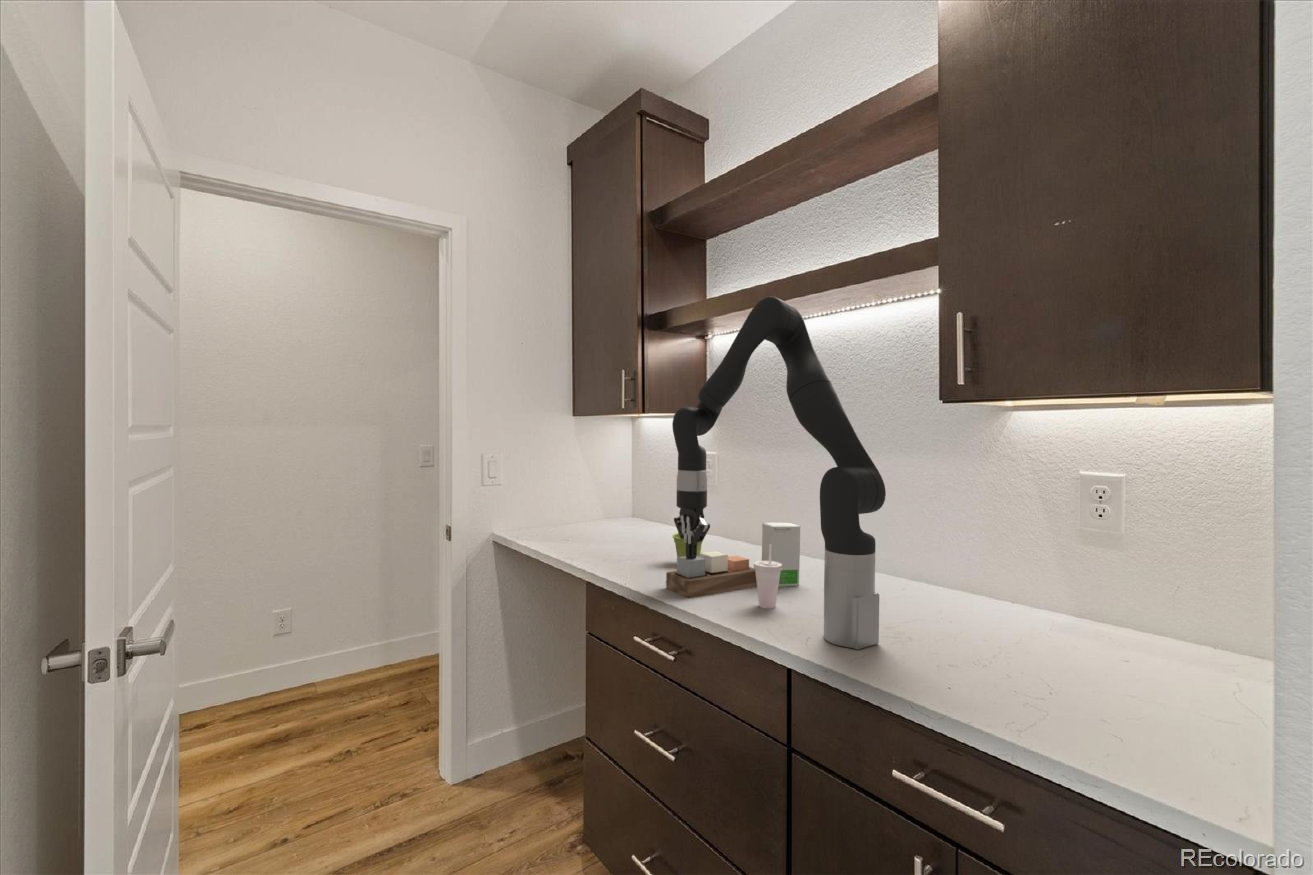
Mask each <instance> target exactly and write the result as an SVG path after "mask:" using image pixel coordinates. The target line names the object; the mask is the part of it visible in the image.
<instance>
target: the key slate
mask: <svg viewBox="0 0 1313 875" xmlns="http://www.w3.org/2000/svg"><path fill="white" fill-rule="evenodd" d="M676 571H677V574H680V575H682V576H685V577H687V578H691V577H697V576H704V575H705V559H703V558H700V557H697V556H696V558H695V559H689V558H686V556H684V557H677V556H676Z"/></svg>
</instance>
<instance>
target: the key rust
mask: <svg viewBox="0 0 1313 875" xmlns="http://www.w3.org/2000/svg"><path fill="white" fill-rule="evenodd" d="M749 567H750V559H749V558H746V557H744V556H739V555H733V556H728V570H729V571H732V572H736V571H743V570H749Z"/></svg>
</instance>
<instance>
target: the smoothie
mask: <svg viewBox="0 0 1313 875" xmlns="http://www.w3.org/2000/svg"><path fill="white" fill-rule="evenodd" d="M771 551H772V545H769V561H762V560H758V561H755V562H753V568H755V572H756V581H757V586H756V589H757V590H756V591H757V596H758V597H757V598H758V606H759V607H760V608H763V609H766V610H767V609H768V610H769V609H775V608H776V606H777V600H778V592H779V587H778V586H779V579H780V571H781V570H782V564H781V563H779V562H775V561H771Z"/></svg>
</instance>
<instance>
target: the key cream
mask: <svg viewBox="0 0 1313 875" xmlns="http://www.w3.org/2000/svg"><path fill="white" fill-rule="evenodd" d="M728 557H729V555H728V554H726V553H723V552H720V551H717V550H714V551H705V552H700V558H703V559H705V571H708V572H710V573H714V572H721V571H728Z"/></svg>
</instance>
